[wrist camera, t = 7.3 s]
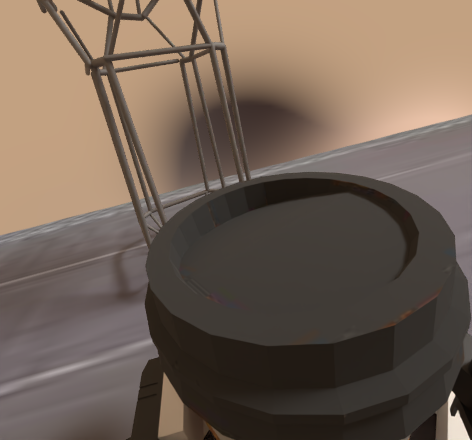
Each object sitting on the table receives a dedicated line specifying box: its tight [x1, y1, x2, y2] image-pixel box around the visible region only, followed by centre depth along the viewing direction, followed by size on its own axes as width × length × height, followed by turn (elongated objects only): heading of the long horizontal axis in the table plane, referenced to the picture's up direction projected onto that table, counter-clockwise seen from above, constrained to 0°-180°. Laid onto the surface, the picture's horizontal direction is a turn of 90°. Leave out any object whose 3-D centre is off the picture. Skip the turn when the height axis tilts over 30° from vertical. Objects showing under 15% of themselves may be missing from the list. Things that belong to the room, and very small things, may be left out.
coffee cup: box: [145, 172, 471, 440], centre depth 10 cm, size 8×8×15 cm
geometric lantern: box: [37, 0, 251, 248], centre depth 25 cm, size 16×16×35 cm
